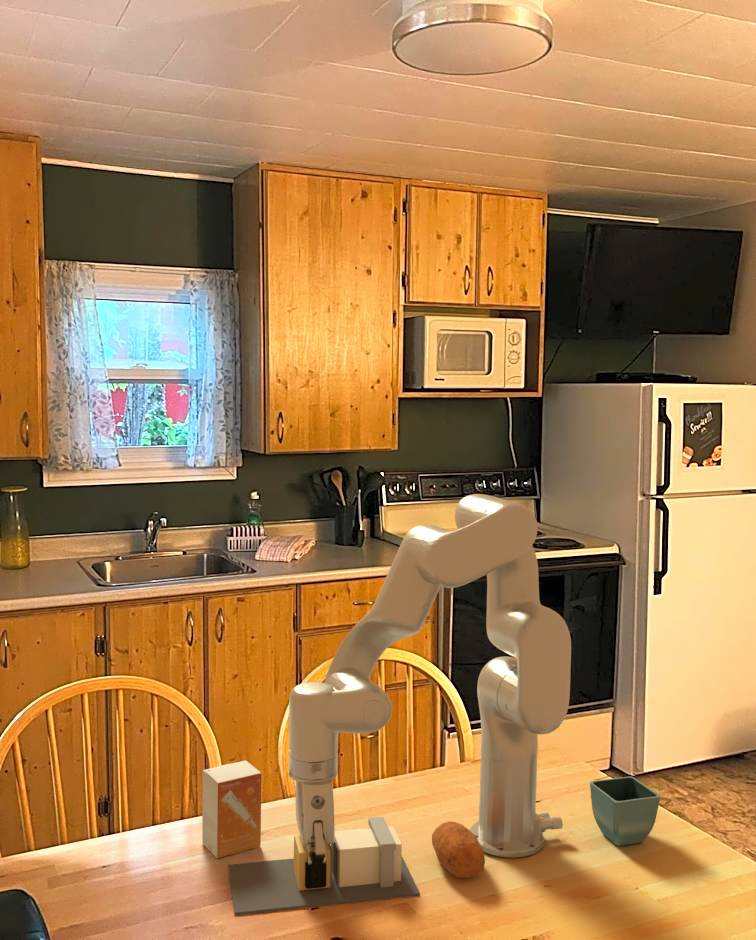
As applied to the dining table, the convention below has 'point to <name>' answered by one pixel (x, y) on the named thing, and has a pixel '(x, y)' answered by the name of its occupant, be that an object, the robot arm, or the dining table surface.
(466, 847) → the potato
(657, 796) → the flower pot
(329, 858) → the stub
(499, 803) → the robot arm
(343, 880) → the two-tone stepped block
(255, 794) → the small box
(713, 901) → the dining table surface
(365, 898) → the mat
